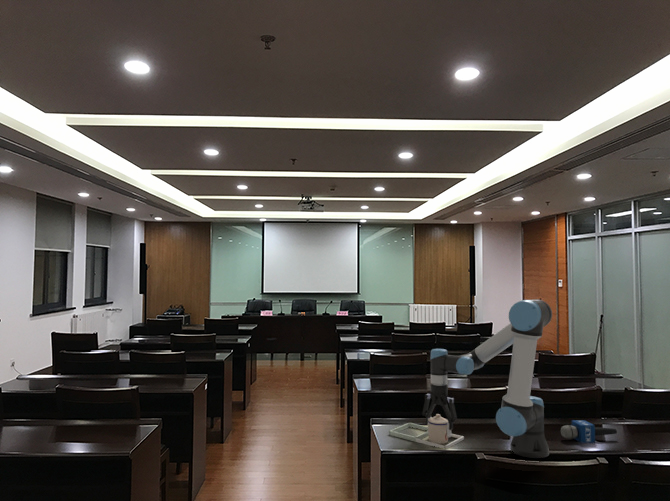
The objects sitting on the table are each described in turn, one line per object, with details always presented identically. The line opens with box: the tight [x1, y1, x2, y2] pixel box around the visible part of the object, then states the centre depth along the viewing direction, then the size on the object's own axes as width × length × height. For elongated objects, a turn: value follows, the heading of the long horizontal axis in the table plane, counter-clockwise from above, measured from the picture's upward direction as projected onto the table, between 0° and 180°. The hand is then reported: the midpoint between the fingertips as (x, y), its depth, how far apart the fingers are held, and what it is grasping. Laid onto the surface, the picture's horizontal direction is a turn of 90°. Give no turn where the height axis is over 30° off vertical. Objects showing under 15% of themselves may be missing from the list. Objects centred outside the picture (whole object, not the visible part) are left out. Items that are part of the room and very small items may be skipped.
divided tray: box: [388, 422, 465, 450], centre depth 223 cm, size 29×17×2 cm, turn 49°
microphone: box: [560, 419, 618, 444], centre depth 220 cm, size 8×8×25 cm
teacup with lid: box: [427, 413, 449, 445], centre depth 219 cm, size 12×9×12 cm
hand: (439, 434), depth 218 cm, fingers closed on teacup with lid, 9 cm apart
